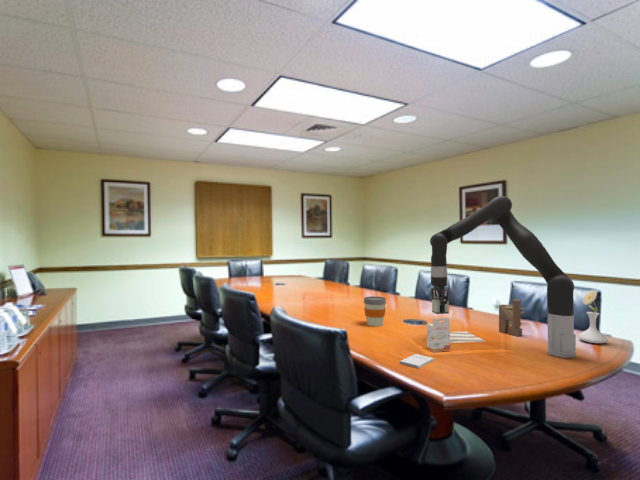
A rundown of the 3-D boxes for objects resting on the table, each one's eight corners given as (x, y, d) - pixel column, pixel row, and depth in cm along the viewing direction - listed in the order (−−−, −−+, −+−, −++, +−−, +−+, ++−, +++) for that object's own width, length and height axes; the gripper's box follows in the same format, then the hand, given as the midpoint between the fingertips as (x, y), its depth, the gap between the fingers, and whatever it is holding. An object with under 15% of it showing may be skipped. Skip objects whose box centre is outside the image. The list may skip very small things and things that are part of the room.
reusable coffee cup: (360, 322, 214) (360, 297, 214) (379, 321, 218) (379, 295, 218) (369, 327, 202) (369, 300, 202) (389, 326, 206) (389, 299, 206)
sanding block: (448, 313, 172) (448, 300, 172) (436, 314, 171) (436, 301, 171) (444, 311, 177) (443, 299, 177) (432, 312, 176) (431, 299, 176)
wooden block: (503, 331, 195) (503, 297, 194) (522, 335, 185) (522, 300, 185) (498, 331, 193) (498, 297, 193) (517, 336, 183) (517, 300, 183)
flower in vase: (577, 337, 182) (577, 287, 182) (605, 340, 176) (606, 288, 176) (579, 344, 171) (579, 290, 170) (610, 347, 165) (610, 292, 165)
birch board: (486, 344, 170) (486, 341, 170) (441, 346, 167) (441, 343, 167) (466, 334, 187) (466, 331, 187) (425, 335, 185) (425, 332, 185)
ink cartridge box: (443, 348, 164) (443, 315, 164) (450, 351, 160) (450, 317, 159) (426, 349, 162) (426, 316, 162) (432, 353, 157) (432, 319, 157)
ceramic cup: (501, 324, 208) (501, 307, 208) (497, 321, 218) (497, 304, 218) (527, 326, 205) (527, 308, 205) (521, 322, 215) (521, 305, 215)
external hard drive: (399, 364, 144) (415, 357, 154) (418, 369, 139) (433, 361, 148) (399, 360, 144) (415, 353, 154) (418, 365, 139) (433, 357, 148)
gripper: (453, 276, 167) (454, 314, 167) (439, 274, 181) (440, 308, 181) (437, 277, 166) (438, 314, 166) (425, 274, 181) (426, 309, 181)
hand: (439, 311), depth 174 cm, fingers closed on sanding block, 5 cm apart
